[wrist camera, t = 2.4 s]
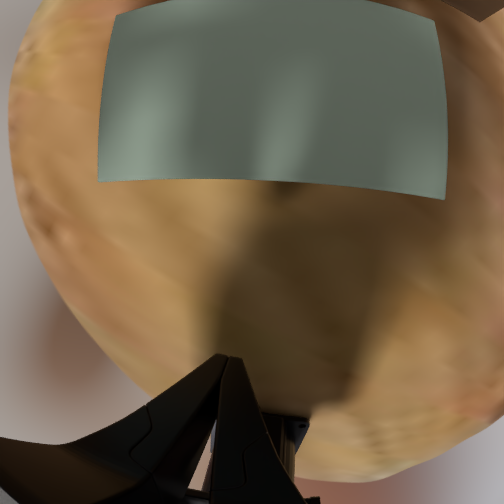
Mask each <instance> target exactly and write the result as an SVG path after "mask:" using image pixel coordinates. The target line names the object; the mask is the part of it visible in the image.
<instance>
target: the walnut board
mask: <svg viewBox="0 0 504 504" xmlns="http://www.w3.org/2000/svg"><path fill="white" fill-rule="evenodd" d="M442 1H444V2H446V3H447V4H449V5H451V6H453V7H455V8H457V9H459V10H460V11H462V12H464V13H466V14H467V15H469V16H471V17H472V18H474V19H476V20H477V21H479V22H481V21H483V20H484V19H486V18H487V17H489V16H491V15H492V14H494V13H495V12H497V11H499V10H500V9H502V8H504V0H442Z"/></svg>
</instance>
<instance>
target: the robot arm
mask: <svg viewBox="0 0 504 504" xmlns="http://www.w3.org/2000/svg"><path fill="white" fill-rule="evenodd" d="M309 425H310V424H309V419H307V418H303V417H292V416H283V415H274V414H267V413H261V411H260V409H259V406H258V403H257V400H256V397H255V395H254V392H253V389H252V386H251V383H250V380H249V377H248V374H247V371H246V368H245V366H244V363H243V360H242V359H241V358H238V357H233V356H230V357H228V356H227V355H222V354H215V355H213V356H212V357H211V358H209V359H208V360H207V361H205V362H204V363H203V364H201V365H200V366H199V367H197V368H196V369H195V370H193V371H192V372H191V373H189V374H188V375H186V376H185V377H184V378H182V379H181V380H180V381H178V382H177V383H175V384H174V385H173V386H171V387H170V388H168V389H167V390H165V391H164V392H163V393H161V394H160V395H158V396H157V397H155V398H154V399H153V400H151V401H150V402H148V403H147V404H146V405H144V406H142V407H141V408H139V409H138V410H136V411H135V412H133V413H131V414H130V415H128V416H127V417H125V418H123V419H121V420H120V421H118V422H115V423H113V424H112V425H110V426H108V427H106V428H103V429H101V430H99V431H97V432H94V433H92V434H90V435H88V436H85V437H83V438H81V439H78V440H76V441H73V442H70V443H66V444H60V445H48V444H40V443H32V442H25V441H19V440H13V439H8V438H3V437H0V504H320V497H319V496H318V497H310V498H303V497H302V495H301V494H300V492H299V491H298V489H297V488H296V486H295V484H294V471H295V454H296V452H297V451H298V449H299V447H300V445H301V443H302V441H303V439H304V437H305V435H306V433H307V430H308V428H309ZM210 434H211V450H210V451H211V453H212V454H211V458H210V461H209V465H208V469H207V472H206V476H205V479H204V483H203V486H202V490H201V491H200V490H195V489H189V488H188V486H189V484H190V481H191V479H192V477H193V474H194V472H195V470H196V467H197V465H198V463H199V460H200V458H201V455H202V453H203V451H204V448H205V446H206V444H207V441H208V439H209V436H210Z"/></svg>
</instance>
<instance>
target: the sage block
mask: <svg viewBox="0 0 504 504" xmlns="http://www.w3.org/2000/svg"><path fill="white" fill-rule="evenodd" d="M447 162H448V118H447V100H446V88H445V79H444V71H443V64H442V57H441V51H440V46H439V41H438V36H437V31H436V27H435V22H434V21H433V20H431V19H428V18H425V17H423V16H420V15H417V14H414V13H411V12H408V11H405V10H401V9H398V8H395V7H391V6H387V5H383V4H380V3H375V2H371V1H367V0H170V1H166V2H162V3H157V4H153V5H150V6H146V7H142V8H139V9H135V10H132V11H129V12H126V13H123V14H120V15H117V16H116V17H115V21H114V26H113V30H112V34H111V39H110V44H109V49H108V55H107V60H106V66H105V73H104V80H103V88H102V97H101V107H100V119H99V137H98V182H111V181H128V180H152V179H246V180H270V181H288V182H303V183H316V184H328V185H339V186H349V187H358V188H367V189H375V190H383V191H390V192H397V193H404V194H411V195H417V196H424V197H430V198H435V199H441V200H445V192H446V180H447Z"/></svg>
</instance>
